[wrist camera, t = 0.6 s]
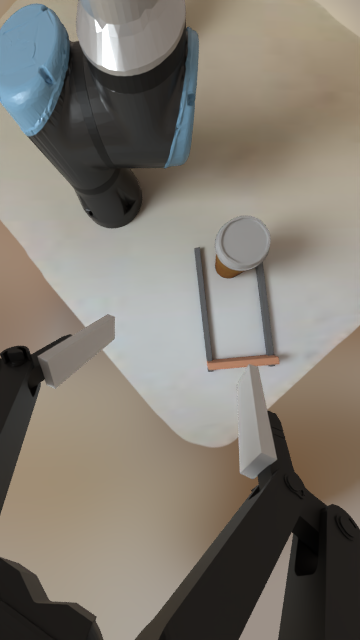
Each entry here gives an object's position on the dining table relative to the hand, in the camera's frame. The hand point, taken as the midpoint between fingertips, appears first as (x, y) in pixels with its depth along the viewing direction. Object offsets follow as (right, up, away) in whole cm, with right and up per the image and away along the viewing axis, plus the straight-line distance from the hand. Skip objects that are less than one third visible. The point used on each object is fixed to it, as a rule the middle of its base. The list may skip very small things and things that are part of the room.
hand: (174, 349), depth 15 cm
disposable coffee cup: (+12, +16, +24) cm, 32 cm away
